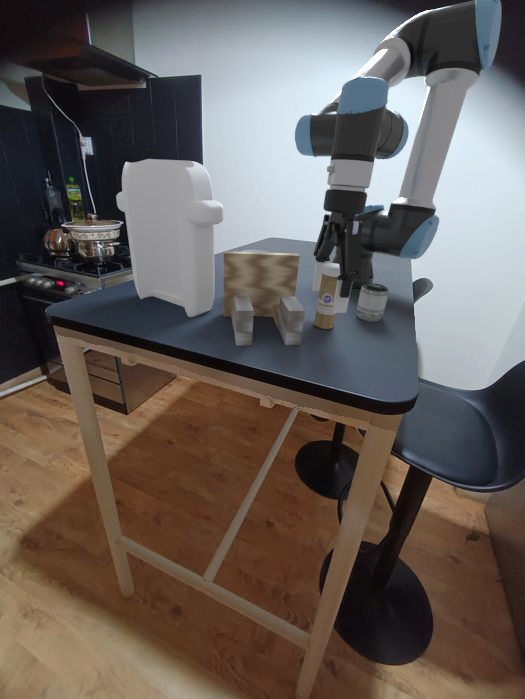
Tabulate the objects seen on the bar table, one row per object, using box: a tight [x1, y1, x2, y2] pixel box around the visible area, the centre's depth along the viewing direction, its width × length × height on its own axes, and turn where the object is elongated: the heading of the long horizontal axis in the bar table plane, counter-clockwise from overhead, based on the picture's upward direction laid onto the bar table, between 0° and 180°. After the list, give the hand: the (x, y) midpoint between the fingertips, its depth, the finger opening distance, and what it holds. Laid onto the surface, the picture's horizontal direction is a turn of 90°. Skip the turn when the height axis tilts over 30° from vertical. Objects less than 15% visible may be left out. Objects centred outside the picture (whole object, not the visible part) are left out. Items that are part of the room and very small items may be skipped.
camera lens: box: [356, 282, 390, 322], centre depth 75 cm, size 6×6×8 cm
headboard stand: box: [222, 250, 306, 347], centre depth 64 cm, size 16×16×14 cm
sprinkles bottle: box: [313, 262, 340, 330], centre depth 67 cm, size 5×5×13 cm
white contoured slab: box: [115, 158, 225, 318], centre depth 70 cm, size 27×11×30 cm, turn 56°
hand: (327, 300), depth 67 cm, fingers open, 13 cm apart
